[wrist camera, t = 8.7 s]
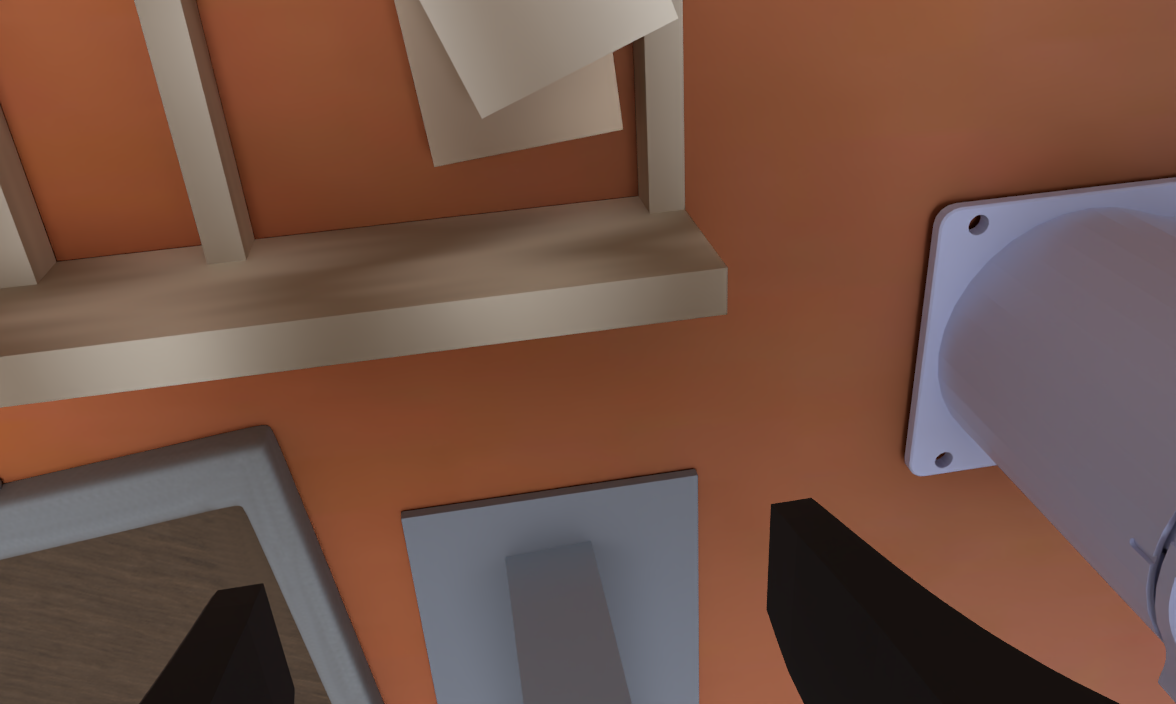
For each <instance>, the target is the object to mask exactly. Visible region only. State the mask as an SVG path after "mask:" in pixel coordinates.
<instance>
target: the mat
mask: <svg viewBox="0 0 1176 704" xmlns="http://www.w3.org/2000/svg"><path fill="white" fill-rule="evenodd" d="M401 520H402V525H403V530H404V535H405V541H406V546H407V551H408V556H409V561H410V566H411V571H412V576H413V581H414V586H415V591H416V597H417V602H418V607H419V612H420V617H421V622H422V627H423V632H424V637H425V642H426V647H427V652H428V658H429V663H430V668H431V673H432V678H433V683H434V688H435V693H436V698H437V703H438V704H524V703H523V695H522V687H521V679H520V671H519V664H518V656H517V648H516V640H515V632H514V624H513V616H512V608H511V600H510V592H509V584H508V576H507V568H506V560H505V557H509V556H514V555H519V554H524V553H530V552H535V551H540V550H545V549H551V548H556V547H561V546H566V545H572V544H577V543H582V542H587V541H591V543H592V547H593V551H594V555H595V559H596V563H597V567H598V571H599V575H600V579H601V583H602V587H603V591H604V595H605V599H606V603H607V607H608V611H609V615H610V619H611V623H612V627H613V631H614V635H615V639H616V643H617V647H618V650H619V654H620V658H621V662H622V666H623V670H624V674H625V678H626V682H627V686H628V690H629V694H630V698H631V702H632V704H699V614H698V475H697V472H696V470H695V469H691V470H684V471H677V472H670V473H663V474H656V475H650V476H643V477H636V478H629V479H622V480H615V481H609V482H602V483H595V484H588V485H581V486H575V487H568V488H561V489H554V490H547V491H540V492H534V493H527V494H520V495H513V496H506V497H499V498H493V499H486V500H479V501H472V502H465V503H458V504H452V505H445V506H438V507H431V508H424V509H418V510H411V511H404V512H401Z"/></svg>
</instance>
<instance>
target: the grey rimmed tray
mask: <svg viewBox="0 0 1176 704" xmlns="http://www.w3.org/2000/svg"><path fill="white" fill-rule="evenodd" d="M261 583H263V584H264V587H265V591H266V594H267V597H268V601H269V604H270V607H271V611H272V614H273V617H274V621H275V624H276V627H277V631H278V634H279V637H280V641H281V644H282V647H283V651H284V654H285V658H286V661H287V664H288V668H289V671H290V674H291V678H292V681H293V684H294V688H295V698H294V704H384V702H383V700H382V697H381V695H380V692H379V690H378V688H377V685H376V683H375V680H374V678H373V675H372V673H371V670H370V668H369V665H368V663H367V660H366V658H365V656H364V653H363V651H362V648H361V646H360V643H359V641H358V638H357V636H356V633H355V631H354V628H353V626H352V624H351V621H350V619H349V616H348V614H347V611H346V609H345V606H344V604H343V601H342V599H341V596H340V594H339V592H338V589H337V587H336V584H335V582H334V579H333V577H332V574H331V572H330V569H329V567H328V564H327V562H326V559H325V557H324V555H323V552H322V550H321V547H320V545H319V542H318V540H317V537H316V535H315V532H314V530H313V527H312V525H311V523H310V520H309V518H308V515H307V513H306V510H305V508H304V505H303V503H302V500H301V498H300V495H299V493H298V491H297V488H296V486H295V483H294V481H293V478H292V476H291V473H290V471H289V468H288V466H287V463H286V461H285V459H284V456H283V454H282V451H281V449H280V447H279V444H278V442H277V440H276V437H275V435H274V433H273V431H272V430H271V428H270V427H269V426H267V425H261V426H255V427H250V428H245V429H241V430H236V431H232V432H227V433H223V434H219V435H214V436H210V437H205V438H201V439H197V440H192V441H188V442H184V443H179V444H175V445H171V446H166V447H162V448H158V449H153V450H149V451H145V452H140V453H136V454H131V455H127V456H123V457H118V458H114V459H110V460H105V461H101V462H97V463H92V464H88V465H84V466H79V467H75V468H70V469H66V470H62V471H57V472H53V473H49V474H44V475H40V476H36V477H31V478H27V479H23V480H18V481H14V482H9V483H5V484H2V482H1V480H0V704H139V703H140V702H141V700H142V699H143V697H144V696H145V695H146V693H147V692H148V690H149V689H150V688H151V686H152V685H153V683H154V682H155V681H156V679H157V678H158V676H159V675H160V674H161V672H162V671H163V669H164V668H165V666H166V665H167V663H168V662H169V660H170V659H171V657H172V656H173V655H174V653H175V652H176V650H177V649H178V647H179V646H180V644H181V643H182V641H183V640H184V638H185V637H186V635H187V634H188V632H189V631H190V629H191V628H192V626H193V625H194V623H195V621H196V620H197V618H198V617H199V615H200V614H201V612H202V611H203V609H204V608H205V606H206V605H207V603H208V602H209V600H210V599H211V597H212V596H213V595H214V594H215V593H216V592H217V590H222V589H229V588H235V587H242V586H248V585H254V584H261Z"/></svg>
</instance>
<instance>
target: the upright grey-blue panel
mask: <svg viewBox="0 0 1176 704" xmlns="http://www.w3.org/2000/svg"><path fill="white" fill-rule="evenodd" d="M505 560H506V568H507V576H508V584H509V592H510V600H511V608H512V616H513V624H514V632H515V640H516V648H517V656H518V664H519V671H520V679H521V687H522V695H523V703H524V704H632V702H631V698H630V694H629V690H628V686H627V682H626V678H625V674H624V670H623V666H622V662H621V658H620V654H619V650H618V647H617V643H616V639H615V635H614V631H613V627H612V623H611V619H610V615H609V611H608V607H607V603H606V599H605V595H604V591H603V587H602V583H601V579H600V575H599V571H598V567H597V563H596V559H595V555H594V551H593V547H592V543H591V541H587V542H582V543H577V544H572V545H566V546H561V547H556V548H551V549H545V550H540V551H535V552H530V553H524V554H519V555H514V556H509V557H505Z"/></svg>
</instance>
